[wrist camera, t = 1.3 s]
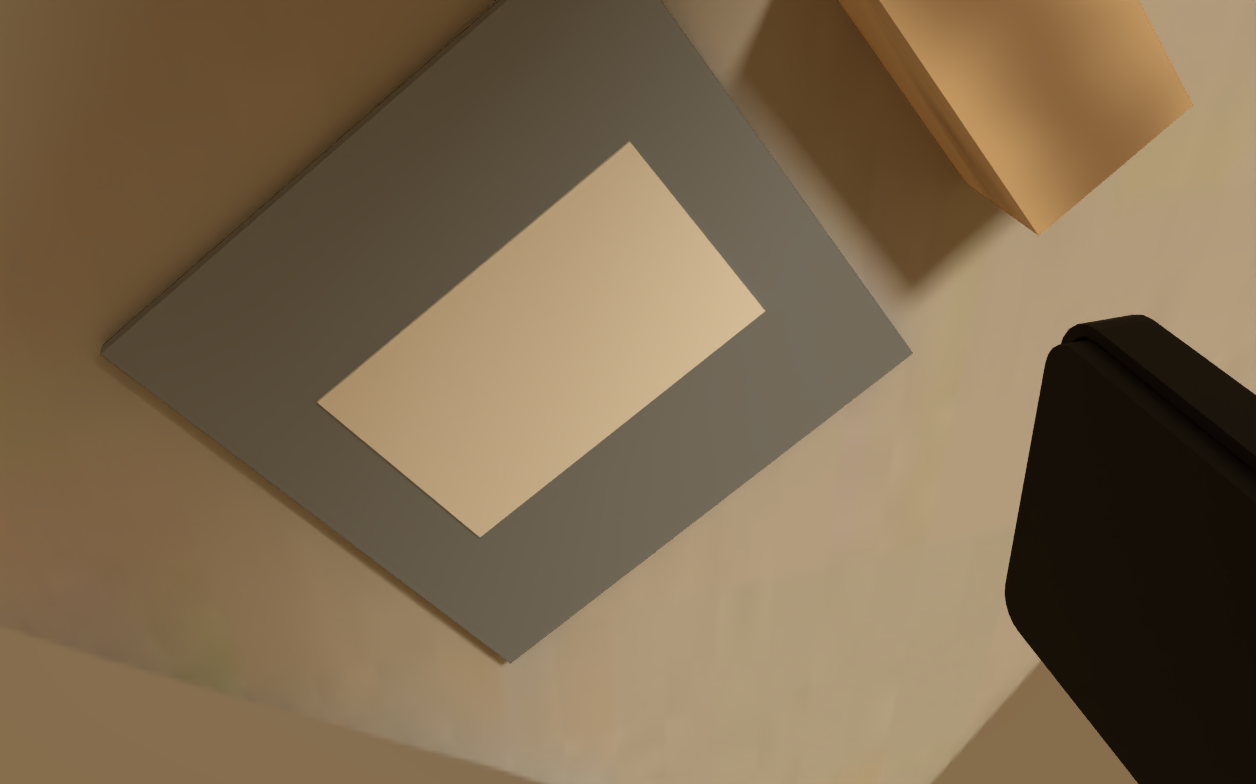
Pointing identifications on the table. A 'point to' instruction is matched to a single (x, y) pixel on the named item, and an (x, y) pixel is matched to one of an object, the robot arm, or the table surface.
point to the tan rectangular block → (1028, 90)
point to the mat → (522, 317)
